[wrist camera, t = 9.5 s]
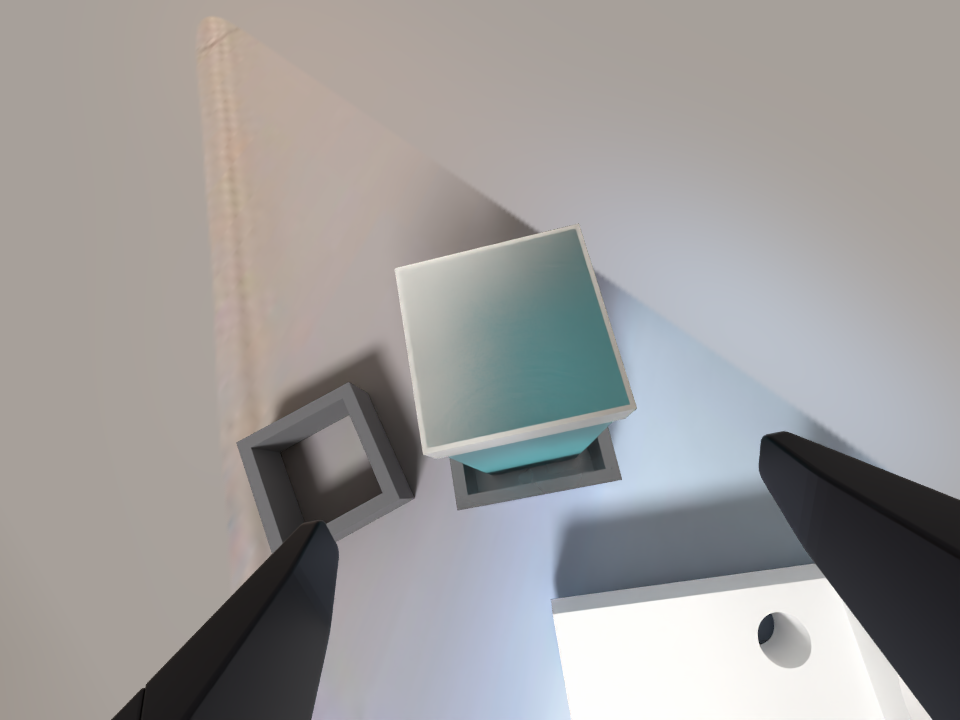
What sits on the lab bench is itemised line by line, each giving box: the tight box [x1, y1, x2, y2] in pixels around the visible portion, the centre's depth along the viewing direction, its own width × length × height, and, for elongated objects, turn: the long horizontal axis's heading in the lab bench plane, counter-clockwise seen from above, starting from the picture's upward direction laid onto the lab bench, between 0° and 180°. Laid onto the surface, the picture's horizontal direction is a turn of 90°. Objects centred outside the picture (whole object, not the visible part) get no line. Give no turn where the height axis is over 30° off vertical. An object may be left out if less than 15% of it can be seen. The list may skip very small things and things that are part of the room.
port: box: [450, 427, 622, 510], centre depth 20 cm, size 6×6×4 cm
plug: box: [395, 224, 637, 476], centre depth 15 cm, size 4×4×13 cm
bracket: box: [551, 564, 932, 720], centre depth 15 cm, size 13×7×8 cm, turn 99°
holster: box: [237, 382, 414, 554], centre depth 22 cm, size 6×6×2 cm
